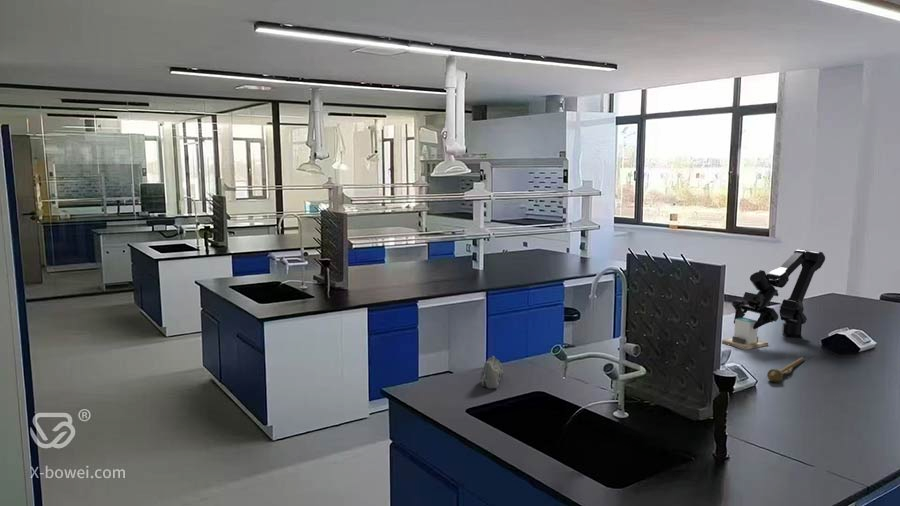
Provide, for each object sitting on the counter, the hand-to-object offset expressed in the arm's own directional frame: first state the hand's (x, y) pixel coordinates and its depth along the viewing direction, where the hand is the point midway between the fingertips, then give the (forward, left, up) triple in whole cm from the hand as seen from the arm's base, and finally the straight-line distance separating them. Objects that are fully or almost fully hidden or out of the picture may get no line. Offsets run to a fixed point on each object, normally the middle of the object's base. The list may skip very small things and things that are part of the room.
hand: (743, 325), depth 250 cm
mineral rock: (+90, +72, -8) cm, 116 cm away
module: (-1, -1, -7) cm, 7 cm away
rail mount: (-1, -1, -8) cm, 8 cm away
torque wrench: (-10, +32, -8) cm, 35 cm away
